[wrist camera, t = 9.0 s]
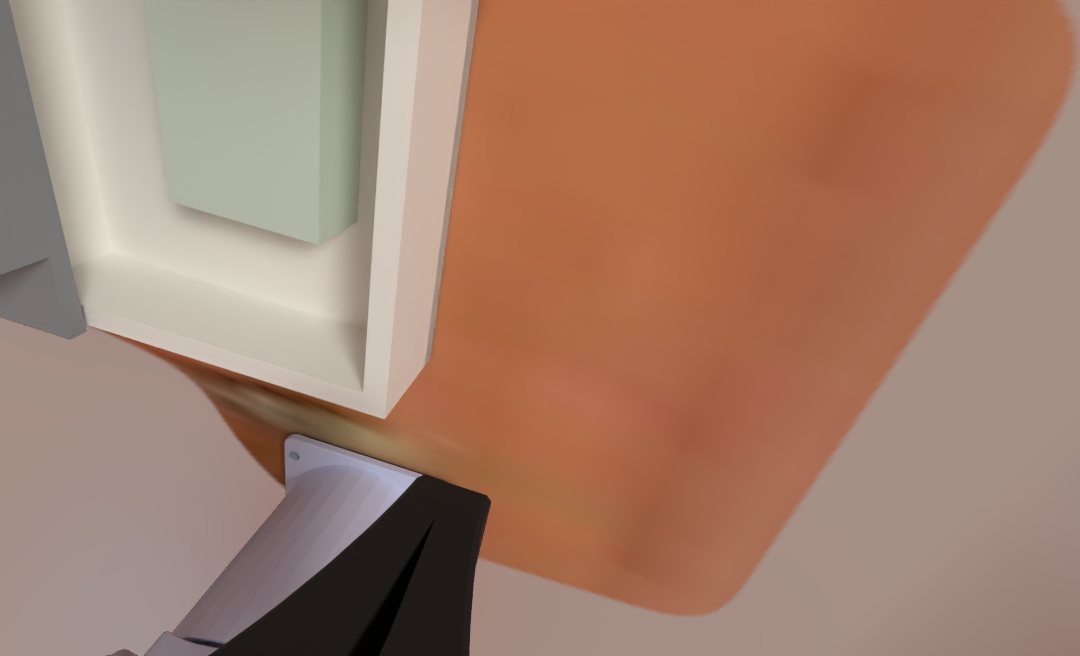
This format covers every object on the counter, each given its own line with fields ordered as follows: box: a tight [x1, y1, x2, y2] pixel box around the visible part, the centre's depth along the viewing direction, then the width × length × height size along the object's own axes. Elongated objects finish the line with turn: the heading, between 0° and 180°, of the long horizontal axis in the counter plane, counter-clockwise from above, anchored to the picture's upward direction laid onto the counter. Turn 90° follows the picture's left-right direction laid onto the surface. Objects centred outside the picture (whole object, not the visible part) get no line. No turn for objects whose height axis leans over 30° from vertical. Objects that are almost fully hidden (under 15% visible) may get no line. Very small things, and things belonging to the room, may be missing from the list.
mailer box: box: [9, 0, 479, 419], centre depth 16 cm, size 18×14×4 cm
